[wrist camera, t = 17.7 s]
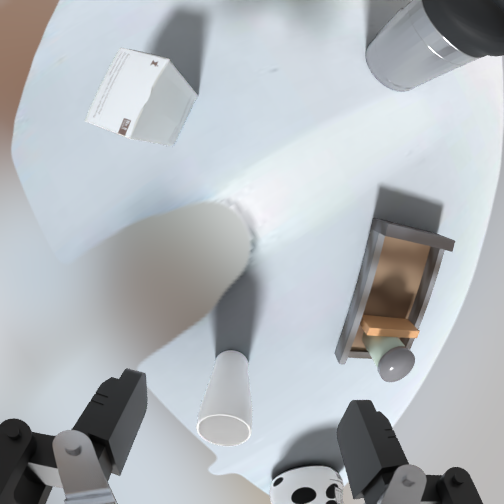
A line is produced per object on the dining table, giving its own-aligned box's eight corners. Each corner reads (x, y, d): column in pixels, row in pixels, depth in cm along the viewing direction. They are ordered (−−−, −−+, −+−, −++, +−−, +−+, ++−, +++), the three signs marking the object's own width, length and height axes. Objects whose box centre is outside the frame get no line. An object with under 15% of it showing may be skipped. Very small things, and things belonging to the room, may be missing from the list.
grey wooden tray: (373, 217, 38) (388, 223, 33) (436, 233, 38) (455, 240, 34) (334, 353, 43) (342, 371, 39) (395, 356, 44) (407, 372, 39)
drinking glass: (255, 347, 43) (255, 416, 29) (250, 379, 45) (249, 449, 30) (211, 342, 43) (195, 409, 29) (209, 375, 45) (195, 443, 30)
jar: (367, 319, 41) (389, 350, 33) (395, 321, 42) (420, 350, 33) (356, 348, 43) (374, 382, 34) (384, 349, 43) (405, 381, 34)
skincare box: (163, 83, 34) (119, 41, 19) (201, 96, 34) (172, 54, 20) (137, 136, 36) (79, 120, 21) (174, 151, 36) (128, 139, 22)
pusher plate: (360, 314, 40) (369, 327, 36) (407, 318, 41) (419, 331, 37) (357, 321, 41) (366, 335, 37) (405, 325, 41) (416, 338, 37)
